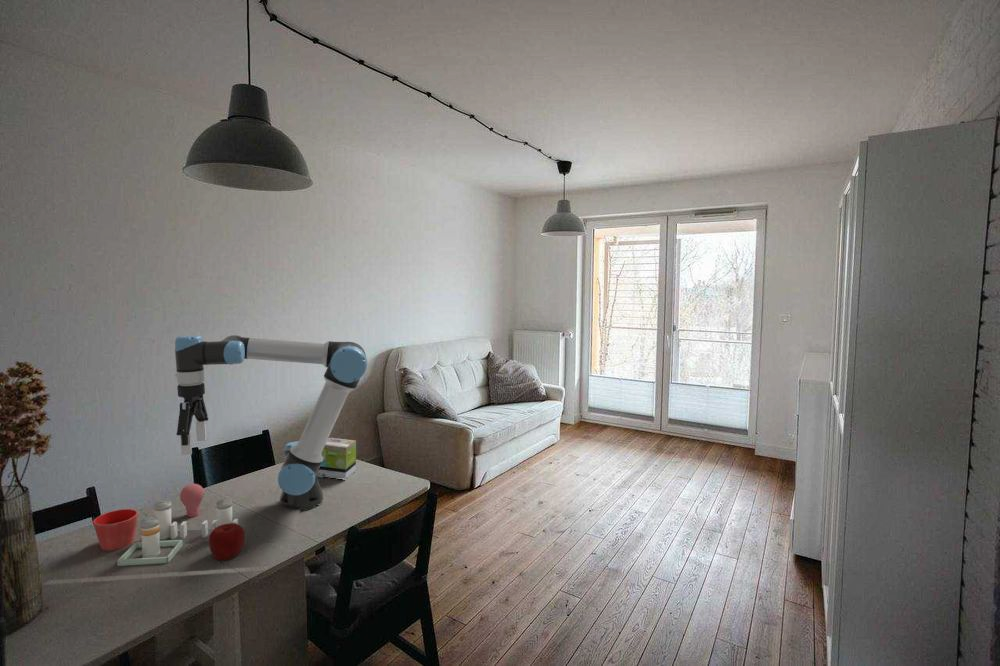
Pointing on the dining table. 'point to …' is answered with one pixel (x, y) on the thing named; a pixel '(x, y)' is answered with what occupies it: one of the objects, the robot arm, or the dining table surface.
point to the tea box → (338, 458)
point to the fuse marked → (150, 537)
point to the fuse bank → (193, 532)
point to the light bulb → (192, 498)
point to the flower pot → (116, 528)
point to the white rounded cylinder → (224, 511)
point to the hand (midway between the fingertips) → (194, 447)
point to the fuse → (163, 518)
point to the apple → (226, 541)
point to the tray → (155, 560)
